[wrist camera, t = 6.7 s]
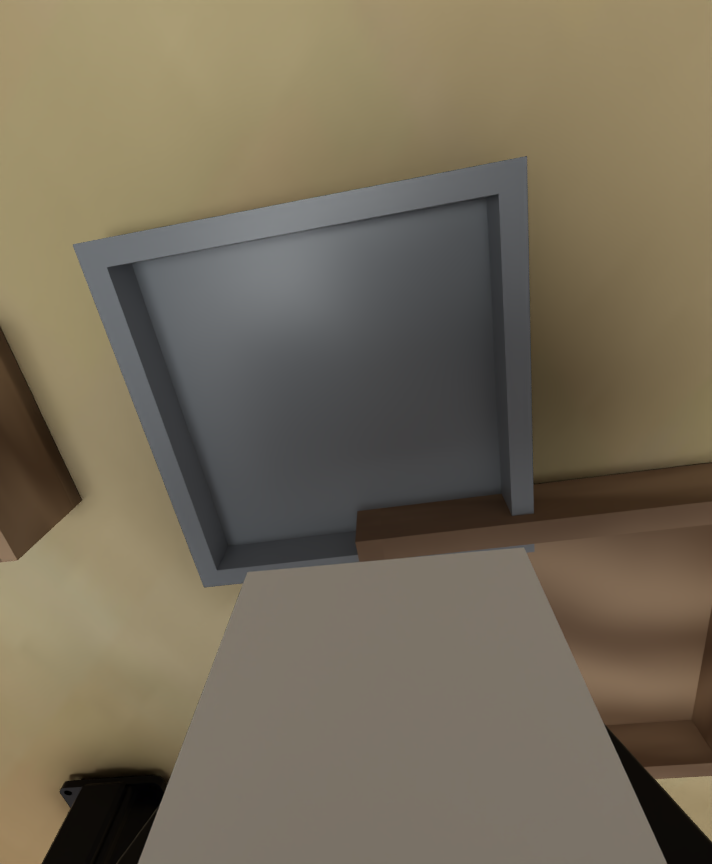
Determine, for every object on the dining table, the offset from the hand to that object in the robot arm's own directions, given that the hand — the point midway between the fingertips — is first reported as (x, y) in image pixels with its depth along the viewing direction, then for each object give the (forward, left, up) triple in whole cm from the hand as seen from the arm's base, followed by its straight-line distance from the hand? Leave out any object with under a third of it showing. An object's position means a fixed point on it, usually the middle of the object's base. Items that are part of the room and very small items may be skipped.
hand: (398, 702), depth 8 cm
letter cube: (0, 0, -1) cm, 1 cm away
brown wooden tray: (-11, -6, -11) cm, 17 cm away
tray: (+2, +2, -11) cm, 11 cm away
